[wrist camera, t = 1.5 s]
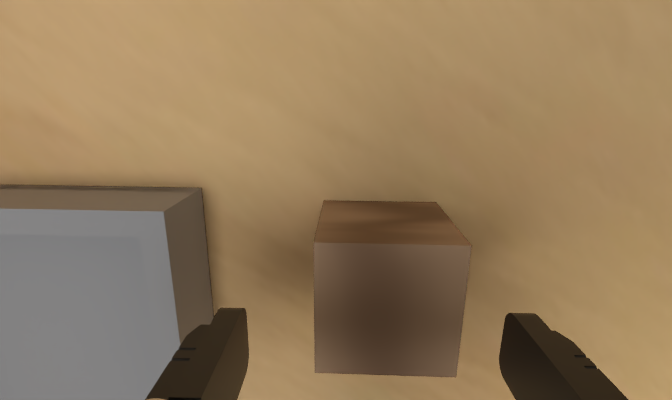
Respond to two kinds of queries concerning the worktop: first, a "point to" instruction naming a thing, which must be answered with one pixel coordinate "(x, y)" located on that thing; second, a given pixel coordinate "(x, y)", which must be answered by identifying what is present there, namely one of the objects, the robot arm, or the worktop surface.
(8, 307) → the tray
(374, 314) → the walnut block
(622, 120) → the worktop surface
